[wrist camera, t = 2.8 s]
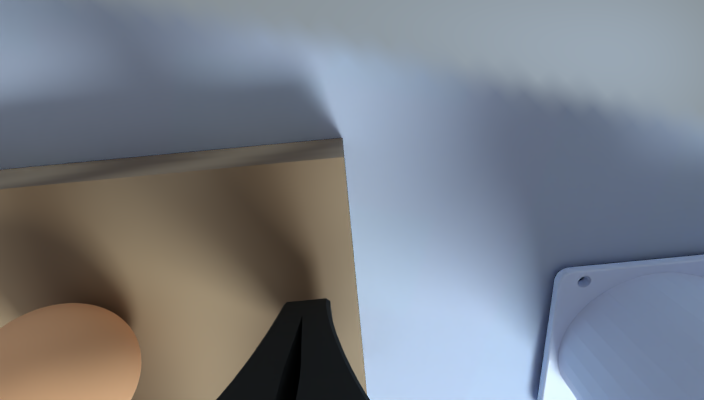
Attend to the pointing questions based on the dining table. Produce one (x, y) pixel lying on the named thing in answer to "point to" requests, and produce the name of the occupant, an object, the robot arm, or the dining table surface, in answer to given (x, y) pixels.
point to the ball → (69, 355)
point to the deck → (186, 252)
